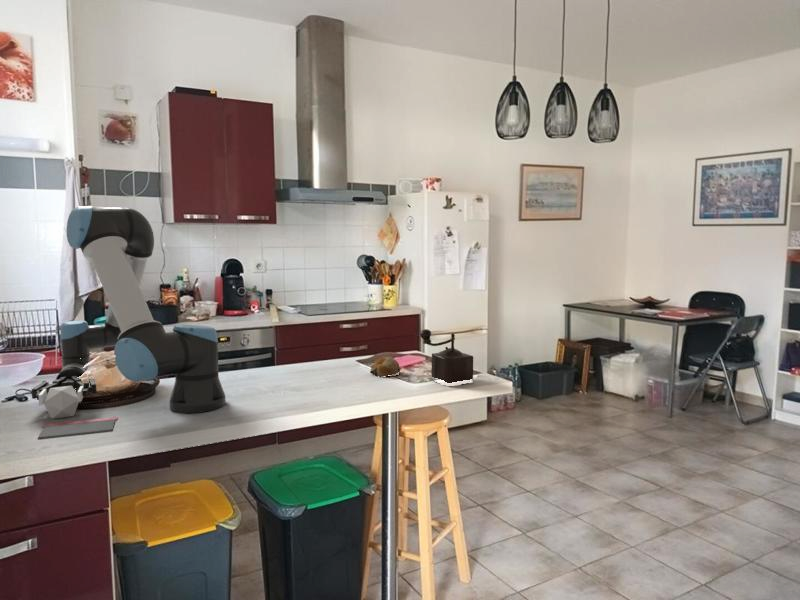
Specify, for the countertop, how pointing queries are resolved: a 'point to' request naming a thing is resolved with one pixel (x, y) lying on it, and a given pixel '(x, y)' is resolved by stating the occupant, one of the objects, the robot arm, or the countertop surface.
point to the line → (80, 422)
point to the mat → (76, 429)
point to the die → (61, 402)
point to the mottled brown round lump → (385, 367)
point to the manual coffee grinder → (449, 361)
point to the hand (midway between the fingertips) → (60, 398)
